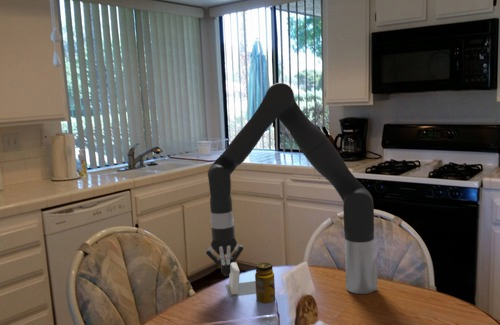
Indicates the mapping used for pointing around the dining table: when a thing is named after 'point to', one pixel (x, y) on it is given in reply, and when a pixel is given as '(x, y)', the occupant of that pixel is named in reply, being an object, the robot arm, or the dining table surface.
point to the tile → (234, 278)
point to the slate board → (243, 289)
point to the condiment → (265, 283)
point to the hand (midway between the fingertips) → (226, 274)
